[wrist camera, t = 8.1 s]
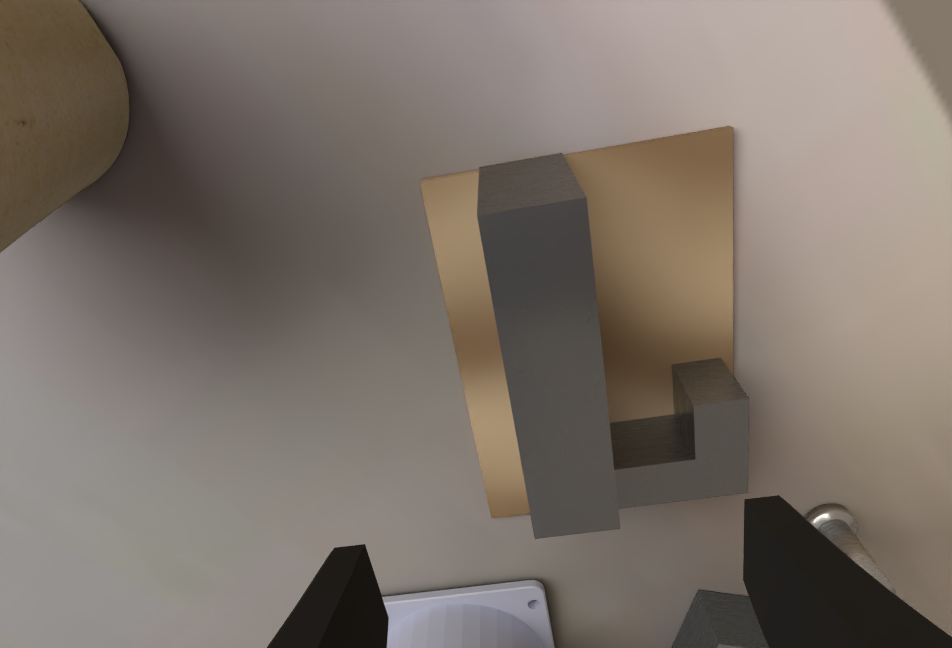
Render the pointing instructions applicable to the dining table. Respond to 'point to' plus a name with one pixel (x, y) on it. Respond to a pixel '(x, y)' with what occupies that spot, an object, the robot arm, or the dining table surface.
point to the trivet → (603, 284)
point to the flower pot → (54, 109)
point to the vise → (731, 616)
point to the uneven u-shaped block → (589, 369)
